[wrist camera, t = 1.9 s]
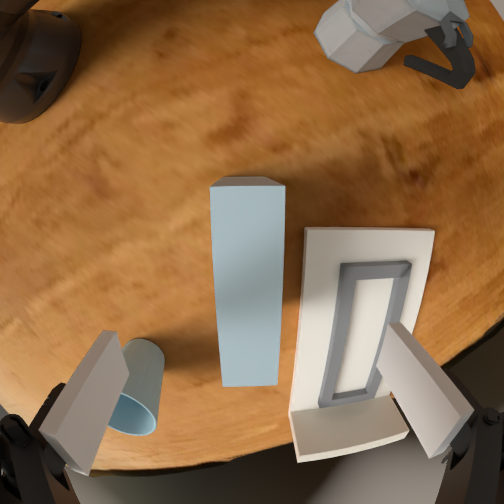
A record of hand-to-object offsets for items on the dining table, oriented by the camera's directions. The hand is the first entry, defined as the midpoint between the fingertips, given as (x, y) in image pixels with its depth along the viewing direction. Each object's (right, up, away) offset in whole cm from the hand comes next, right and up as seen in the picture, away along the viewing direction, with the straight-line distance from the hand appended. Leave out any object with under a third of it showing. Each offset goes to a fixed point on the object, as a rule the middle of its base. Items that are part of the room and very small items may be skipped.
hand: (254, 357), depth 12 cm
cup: (-14, -8, +20) cm, 25 cm away
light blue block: (-1, +5, +16) cm, 17 cm away
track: (+13, -6, +20) cm, 25 cm away
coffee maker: (+11, +27, +10) cm, 30 cm away
